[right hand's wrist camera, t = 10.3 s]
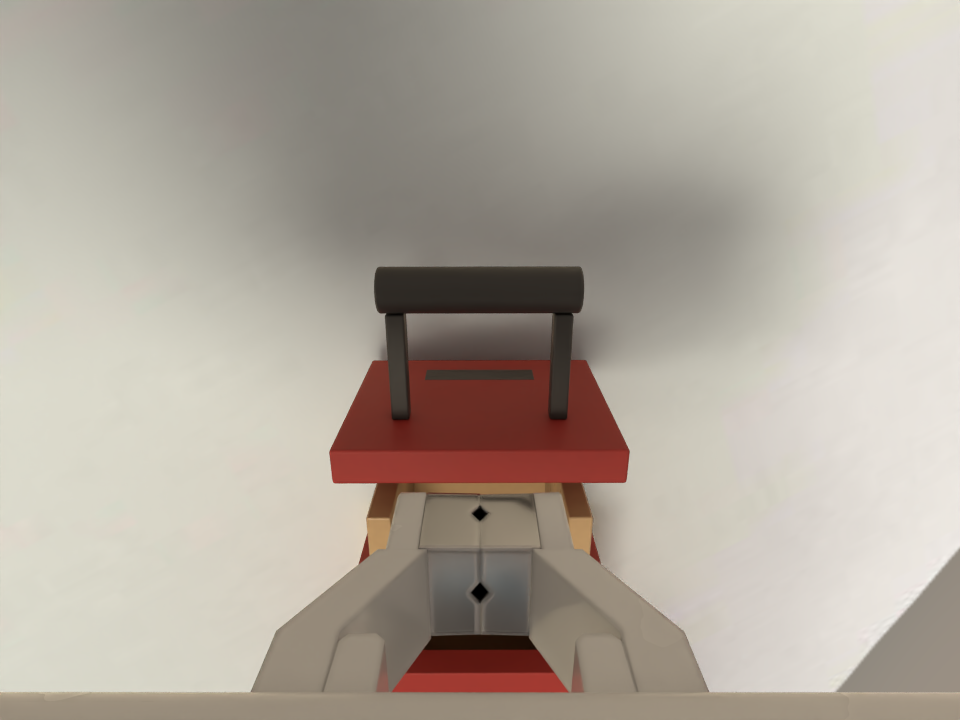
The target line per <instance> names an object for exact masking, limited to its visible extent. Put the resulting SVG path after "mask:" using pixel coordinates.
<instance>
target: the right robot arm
mask: <svg viewBox="0 0 960 720" xmlns="http://www.w3.org/2000/svg"><path fill="white" fill-rule="evenodd" d="M477 634H482V635H517V636H529V639H530V640H531V641H532V643H533V644H534V645H535V647H536V648H537V650H538V651H539V652H540V654H541V655H542V656H543V658H544V659H545V660H546V662H547V663H548V665H549V666H550V667H551V669H552V670H553V671H554V673H555V674H556V675H557V677H558V678H559V679H560V681H561V682H562V684H563V685H564V686H565V688H566V689H567V690H568V692H569V693H564V692H392V691H393V689H394V688H395V687H396V685H397V684H398V683H399V681H400V680H401V679H402V677H403V676H404V674H405V673H406V672H407V670H408V669H409V668H410V666H411V665H412V664H413V662H414V661H415V660H416V658H417V657H418V656H419V654H420V653H421V651H422V650H423V649H424V647H425V646H426V645H427V643H428V642H429V641H430V639H431V636H442V635H477ZM0 720H960V692H709V690H708V688H707V685H706V683H705V681H704V678H703V676H702V673H701V671H700V669H699V666H698V664H697V661H696V659H695V656H694V654H693V652H692V649H691V647H690V644H689V642H688V640H687V637H686V635H685V632H684V631H683V630H681V629H680V628H679V627H678V626H677V625H675V624H674V623H673V622H672V621H670V620H669V619H668V618H667V617H665V616H664V615H663V614H662V613H660V612H659V611H658V610H657V609H656V608H654V607H653V606H652V605H651V604H649V603H648V602H647V601H646V600H644V599H643V598H642V597H641V596H639V595H638V594H637V593H636V592H635V591H633V590H632V589H631V588H630V587H628V586H627V585H626V584H625V583H623V582H622V581H621V580H620V579H618V578H617V577H616V576H615V575H614V574H612V573H611V572H610V571H609V570H607V569H606V568H605V567H604V566H602V565H601V564H600V563H599V562H597V561H596V560H595V559H594V558H593V557H591V556H590V555H589V554H588V553H586V552H585V551H584V550H583V549H574V546H573V541H572V537H571V533H570V529H569V524H568V520H567V516H566V512H565V507H564V503H563V499H562V495H561V494H560V493H559V492H543V493H525V494H479V493H431V492H428V494H427V493H426V492H401V493H400V494H399V496H398V498H397V502H396V507H395V511H394V515H393V520H392V524H391V528H390V533H389V537H388V541H387V546H386V549H377V550H376V551H375V552H374V553H372V554H371V555H370V556H369V557H367V558H366V559H365V560H364V561H363V562H361V563H360V564H359V565H358V566H356V567H355V568H354V569H353V570H351V571H350V572H349V573H348V574H346V575H345V576H344V577H343V578H341V579H340V580H339V581H338V582H336V583H335V584H334V585H333V586H331V587H330V588H329V589H328V590H327V591H325V592H324V593H323V594H322V595H320V596H319V597H318V598H317V599H315V600H314V601H313V602H312V603H310V604H309V605H308V606H307V607H305V608H304V609H303V610H302V611H300V612H299V613H298V614H297V615H295V616H294V617H293V618H292V619H291V620H289V621H288V622H287V623H286V624H284V625H283V626H282V627H281V628H279V629H278V630H277V631H276V633H275V635H274V638H273V640H272V643H271V645H270V647H269V650H268V652H267V654H266V657H265V659H264V662H263V664H262V666H261V669H260V671H259V673H258V676H257V678H256V681H255V683H254V685H253V688H252V690H251V692H0Z"/></svg>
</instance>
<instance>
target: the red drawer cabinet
mask: <svg viewBox="0 0 960 720" xmlns="http://www.w3.org/2000/svg"><path fill="white" fill-rule="evenodd" d="M369 556H370V554H369V543H368V533H367V537H366V540H365V544H364V547H363V551H362V554H361V558H360V561H359V564H360V563H361V562H363V561H364V560H365V559H366V558H367V557H369ZM590 556H591V557H593V558H594V559H595V560H596V561H597V562H599V563H600V559H599V556H598V552H597V549H596V545H595V542H594V538H593V535H591V547H590ZM600 564H601V563H600ZM392 692H564V693H569V692H568V690H567V689H566V688H565V686H564V685H563V684H562V682H561V681H560V679H559V678H558V677H557V675H556V674H555V673H554V671H553V670H552V669H551V667H550V666H549V665H548V663H547V662H546V660H545V659H544V658H543V656H542V655H541V654H540V652H539V651H538V650H422V651H421V653H420V654H419V656H418V657H417V658H416V660H415V661H414V662H413V664H412V665H411V666H410V668H409V669H408V670H407V672H406V673H405V674H404V676H403V677H402V679H401V680H400V681H399V683H398V684H397V685H396V687H395V688H394V689H393V691H392Z"/></svg>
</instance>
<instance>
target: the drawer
mask: <svg viewBox="0 0 960 720" xmlns="http://www.w3.org/2000/svg"><path fill="white" fill-rule="evenodd" d="M374 295H375V304H376V308H377V311H378V312H379V313H387V314H386V316H385V324H386V339H387V354H388V361H373V362H372V364H371V366H370V368H369V370H368V372H367V374H366V376H365V378H364V380H363V382H362V385H361V387H360V389H359V391H358V393H357V395H356V397H355V399H354V401H353V403H352V405H351V407H350V410H349V412H348V414H347V416H346V418H345V420H344V422H343V424H342V426H341V428H340V430H339V432H338V435H337V437H336V439H335V441H334V443H333V445H332V447H331V449H330V452H329V453H330V462H331V471H332V480H333V483H377V484H376V488H375V491H374V494H373V498H372V501H371V505H370V508H369V511H368V515H367V518H366V521H367V532H368V543H369V554H370V555H371V554H372V553H374V552H375V551H376V550H377V549H386V546H387V541H388V537H389V533H390V528H391V524H392V520H393V515H394V511H395V507H396V502H397V498H398V496H399V494H400V493H401V492H426V493H427V494H428V492H431V493H479V494H525V493H543V492H559V493H560V494H561V495H562V499H563V503H564V507H565V512H566V516H567V520H568V524H569V529H570V533H571V537H572V541H573V546H574V549H583V550H584V551H585V552H586V553H588V554H589V555H590V547H591V535H592V523H593V517H592V513H591V510H590V507H589V503H588V500H587V497H586V493H585V490H584V487H583V483H624V482H626V480H627V471H628V462H629V453H630V451H629V449H628V446H627V444H626V442H625V440H624V438H623V436H622V434H621V432H620V430H619V428H618V426H617V424H616V422H615V420H614V417H613V415H612V413H611V411H610V409H609V407H608V405H607V403H606V401H605V399H604V397H603V395H602V393H601V390H600V388H599V386H598V384H597V382H596V380H595V378H594V376H593V374H592V372H591V370H590V368H589V366H588V364H587V361H586V360H571V349H572V332H573V314H572V313H579V312H580V311H581V309H582V306H583V299H584V277H583V271H582V269H581V267H378V268H377V270H376V273H375V280H374ZM406 313H553V314H552V335H551V356H550V360H408V343H407V324H406ZM423 650H537V648H536V647H535V645H534V644H533V643H532V641H531V640H530V639H529V636H517V635H482V634H477V635H442V636H431V639H430V641H429V642H428V643H427V645H426V646H425V647H424V649H423Z"/></svg>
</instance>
